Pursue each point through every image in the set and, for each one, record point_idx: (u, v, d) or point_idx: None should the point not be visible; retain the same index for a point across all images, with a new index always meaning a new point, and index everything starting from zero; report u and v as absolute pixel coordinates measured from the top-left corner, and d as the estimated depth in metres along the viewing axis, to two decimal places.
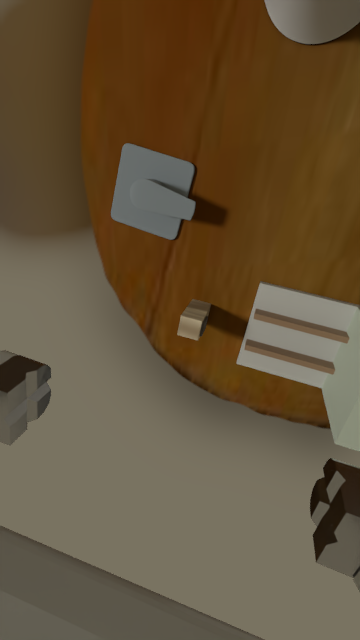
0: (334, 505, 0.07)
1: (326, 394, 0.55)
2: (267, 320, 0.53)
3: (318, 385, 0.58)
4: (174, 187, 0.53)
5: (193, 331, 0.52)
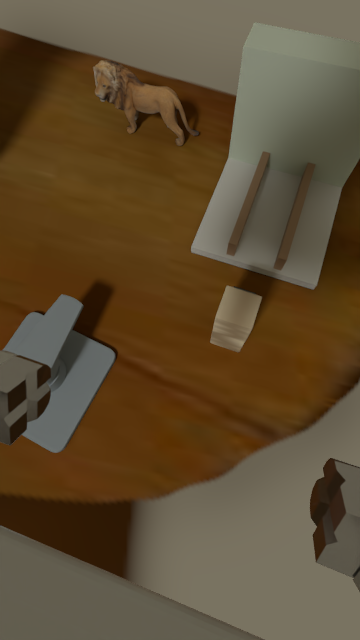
0: (333, 505, 0.07)
1: (345, 165, 0.41)
2: (239, 229, 0.39)
3: (338, 190, 0.44)
4: None
5: (245, 301, 0.31)
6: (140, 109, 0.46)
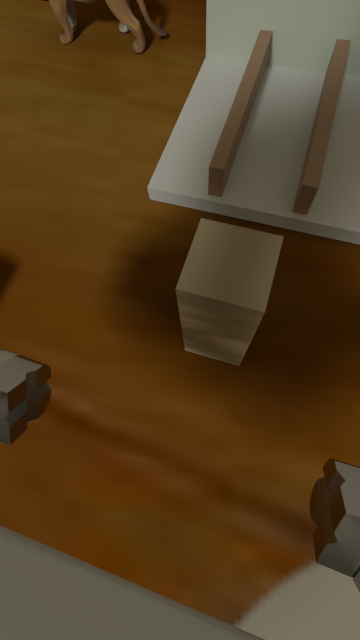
0: (333, 505, 0.07)
1: None
2: (227, 143, 0.22)
3: None
4: None
5: (244, 248, 0.13)
6: None
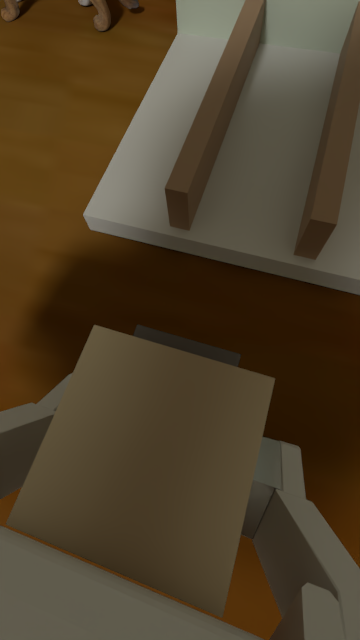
0: None
1: None
2: (194, 152, 0.14)
3: None
4: None
5: (183, 409, 0.06)
6: None
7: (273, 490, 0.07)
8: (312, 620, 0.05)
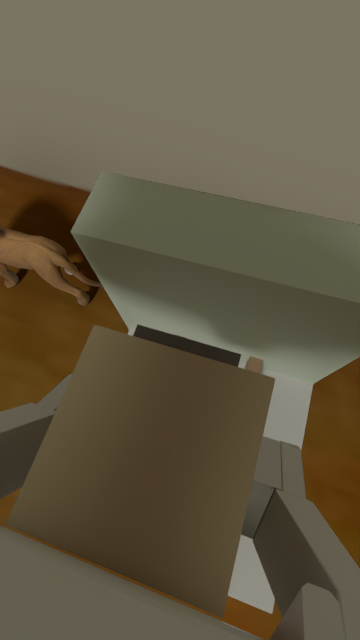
0: None
1: (313, 370, 0.23)
2: None
3: (307, 390, 0.26)
4: None
5: (183, 409, 0.06)
6: None
7: (274, 490, 0.07)
8: (312, 620, 0.05)
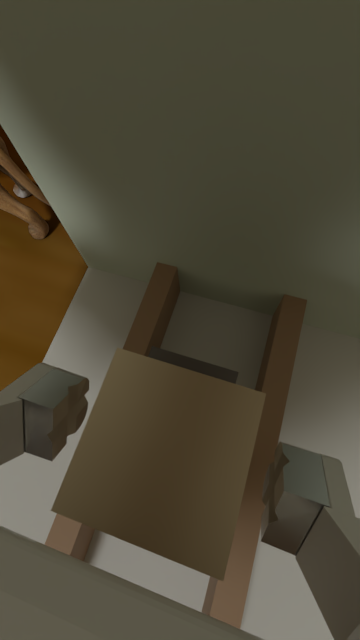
0: (276, 485, 0.07)
1: None
2: None
3: None
4: None
5: (191, 418, 0.07)
6: None
7: (320, 507, 0.07)
8: None
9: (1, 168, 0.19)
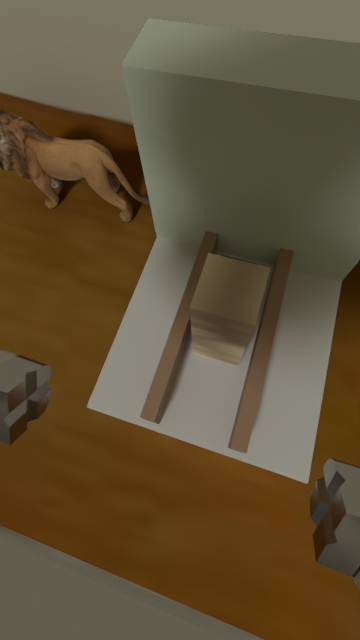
0: (333, 505, 0.07)
1: (345, 254, 0.23)
2: (160, 386, 0.22)
3: (336, 287, 0.26)
4: None
5: (241, 277, 0.17)
6: (55, 176, 0.29)
7: None
8: None
9: None
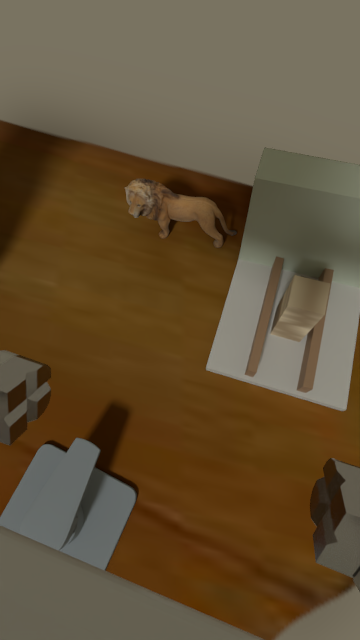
0: (333, 505, 0.07)
1: None
2: (257, 352, 0.36)
3: (359, 292, 0.41)
4: None
5: (314, 288, 0.32)
6: (175, 219, 0.43)
7: None
8: None
9: None
